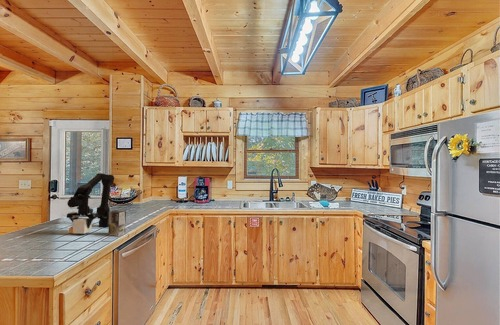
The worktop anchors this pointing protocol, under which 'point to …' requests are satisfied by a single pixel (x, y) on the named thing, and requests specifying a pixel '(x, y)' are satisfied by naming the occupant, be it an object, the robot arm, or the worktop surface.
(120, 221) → the coffee box
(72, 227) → the ball
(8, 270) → the worktop surface
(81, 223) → the beige cardboard box
